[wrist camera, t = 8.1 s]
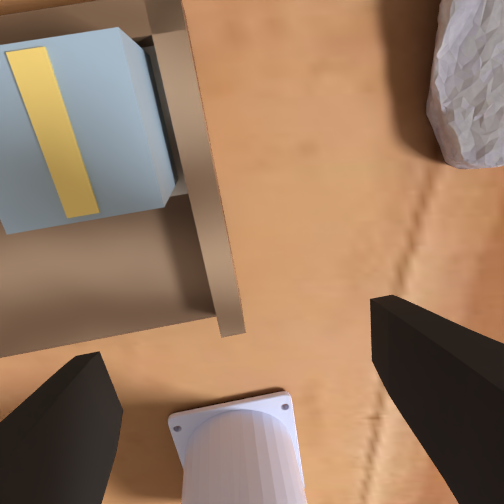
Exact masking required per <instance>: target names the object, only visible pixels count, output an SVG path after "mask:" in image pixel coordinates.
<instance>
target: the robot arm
mask: <svg viewBox="0 0 504 504" xmlns="http://www.w3.org/2000/svg"><path fill="white" fill-rule="evenodd" d="M370 311H371V344H372V362H373V364H374V366H375V368H376V370H377V372H378V374H379V376H380V378H381V380H382V382H383V384H384V386H385V388H386V390H387V392H388V394H389V396H390V397H391V399H392V400H393V402H394V404H395V405H396V407H397V408H398V410H399V411H400V413H401V414H402V416H403V417H404V419H405V420H406V422H407V424H408V425H409V427H410V428H411V430H412V431H413V433H414V434H415V436H416V437H417V439H418V440H419V442H420V443H421V445H422V446H423V448H424V449H425V451H426V452H427V454H428V455H429V457H430V458H431V460H432V461H433V463H434V464H435V466H436V467H437V469H438V471H439V472H440V474H441V475H442V477H443V478H444V480H445V481H446V483H447V485H448V486H449V488H450V490H451V491H452V493H453V495H454V496H455V498H456V500H457V501H458V503H459V504H504V344H503V343H501V342H498V341H496V340H493V339H491V338H488V337H486V336H484V335H481V334H479V333H477V332H474V331H472V330H470V329H468V328H465V327H463V326H461V325H459V324H456V323H454V322H452V321H450V320H448V319H445V318H443V317H441V316H439V315H437V314H435V313H433V312H430V311H428V310H426V309H424V308H422V307H420V306H418V305H415V304H413V303H411V302H409V301H407V300H404V299H402V298H400V297H397V296H394V295H389V296H383V297H378V298H373V299H370ZM283 404H286V405H283ZM122 414H123V409H122V407H121V404H120V402H119V399H118V397H117V394H116V392H115V389H114V386H113V384H112V381H111V379H110V376H109V374H108V371H107V369H106V366H105V364H104V361H103V359H102V356H101V354H100V351H99V352H94V353H89V354H84V355H79V356H75V357H74V358H73V359H71V360H70V361H69V362H68V363H66V364H65V365H64V366H63V367H62V368H61V369H59V370H58V371H57V372H56V373H55V374H54V375H53V376H51V377H50V378H49V379H48V380H47V381H46V382H45V383H44V384H43V385H41V386H40V387H39V388H38V389H37V390H36V391H35V392H34V393H33V394H31V395H30V396H29V397H28V398H27V399H26V400H25V401H24V402H23V403H21V404H20V405H19V406H18V407H17V408H16V409H15V410H14V411H13V412H11V413H10V414H9V415H8V416H7V417H6V418H5V419H4V420H3V421H1V422H0V504H101V503H102V500H103V496H104V493H105V490H106V486H107V483H108V479H109V476H110V472H111V469H112V465H113V462H114V458H115V455H116V451H117V446H118V440H119V434H120V428H121V421H122ZM168 426H169V429H170V432H171V435H172V438H173V441H174V444H175V447H176V450H177V452H178V455H179V458H180V461H181V464H182V467H183V470H184V475H183V487H182V500H181V504H307V500H306V496H305V492H304V487H305V486H304V479H303V472H302V465H301V459H300V452H299V445H298V438H297V432H296V425H295V418H294V412H293V405H292V399H291V395H290V393H289V392H286V391H281V392H276V393H271V394H266V395H261V396H256V397H252V398H247V399H242V400H237V401H232V402H227V403H222V404H217V405H212V406H207V407H202V408H197V409H192V410H187V411H182V412H177V413H173V414H171V415H170V416H169V418H168ZM176 426H180V427H176Z"/></svg>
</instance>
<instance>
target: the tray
mask: <svg viewBox="0 0 504 504" xmlns="http://www.w3.org/2000/svg"><path fill="white" fill-rule="evenodd" d="M115 27H119V28H120V29H121V30H122V31H123V32H124V33H125V34H127V35H128V36H129V37H130V38H131V39H132V40H133V41H134V42H135V43H136V44H138V45H139V46H140V47H141V48H142V49H143V50H144V51H145V52H146V53H147V54H149V55H150V59H151V64H152V68H153V72H154V77H155V81H156V85H157V90H158V94H159V98H160V103H161V107H162V111H163V115H164V120H165V124H166V128H167V133H168V137H169V141H170V146H171V150H172V154H173V159H174V163H175V167H176V172H177V176H178V181H177V183H176V185H175V187H174V189H173V191H172V193H171V195H170V197H169V199H168V201H167V203H166V205H165V207H163V208H157V209H151V210H145V211H140V212H134V213H128V214H123V215H117V216H111V217H105V218H100V219H94V220H88V221H82V222H77V223H71V224H65V225H59V226H54V227H48V228H42V229H36V230H31V231H25V232H19V233H13V234H8V235H7V234H6V231H5V229H4V227H3V225H2V222H1V220H0V358H2V357H7V356H12V355H18V354H23V353H28V352H33V351H38V350H44V349H49V348H54V347H59V346H64V345H70V344H75V343H80V342H85V341H91V340H96V339H101V338H106V337H111V336H117V335H122V334H127V333H132V332H137V331H143V330H148V329H153V328H158V327H163V326H169V325H174V324H179V323H184V322H189V321H195V320H200V319H205V318H210V317H215V316H217V321H218V325H219V329H220V334H221V338H222V337H227V336H232V335H237V334H242V333H246V331H245V325H244V318H243V312H242V305H241V299H240V294H239V288H238V283H237V278H236V273H235V268H234V263H233V258H232V252H231V247H230V242H229V237H228V232H227V227H226V222H225V216H224V211H223V206H222V201H221V196H220V191H219V185H218V180H217V175H216V170H215V165H214V160H213V155H212V149H211V144H210V139H209V134H208V129H207V124H206V119H205V113H204V108H203V103H202V98H201V93H200V88H199V83H198V77H197V72H196V67H195V62H194V57H193V52H192V47H191V41H190V36H189V31H188V26H187V21H186V16H185V11H184V8H183V4H182V0H97V1H91V2H84V3H78V4H71V5H65V6H58V7H52V8H45V9H39V10H33V11H26V12H20V13H13V14H7V15H0V45H4V44H10V43H17V42H24V41H30V40H37V39H43V38H50V37H56V36H63V35H69V34H76V33H83V32H89V31H96V30H102V29H109V28H115Z"/></svg>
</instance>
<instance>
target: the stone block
mask: <svg viewBox="0 0 504 504" xmlns="http://www.w3.org/2000/svg"><path fill="white" fill-rule="evenodd" d="M437 20H438V30H437V32H436V39H435V51H434V59H433V63H432V68H431V78H430V81H431V82H430V90H429V95H428V99H427V103H426V115H427V117H428V119H429V121H430V123H431V126H432V128H433V131H434V134H435V137H436V139H437V141H438V143H439V145H440V148H441V152H442V154H443V157H444V161H445V162H446V163H447V164H449V165H451V166H453V167H455V168H458V169H479V168H491V167H500V166H504V0H441V3H440V5H439V15H438V19H437Z"/></svg>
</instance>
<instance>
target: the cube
mask: <svg viewBox="0 0 504 504" xmlns="http://www.w3.org/2000/svg"><path fill="white" fill-rule="evenodd" d="M177 181H178V176H177V172H176V167H175V163H174V159H173V154H172V150H171V146H170V141H169V137H168V133H167V128H166V124H165V120H164V115H163V111H162V107H161V103H160V98H159V94H158V90H157V85H156V81H155V77H154V72H153V68H152V64H151V59H150V55H149V54H147V53H146V52H145V51H144V50H143V49H142V48H141V47H140V46H139V45H138V44H136V43H135V42H134V41H133V40H132V39H131V38H130V37H129V36H128V35H127V34H125V33H124V32H123V31H122V30H121V29H120V28H119V27H115V28H109V29H102V30H96V31H89V32H83V33H76V34H69V35H63V36H56V37H50V38H43V39H37V40H30V41H24V42H17V43H10V44H4V45H0V220H1V222H2V225H3V227H4V229H5V231H6V234H7V235H8V234H13V233H19V232H25V231H31V230H36V229H42V228H48V227H54V226H59V225H65V224H71V223H77V222H82V221H88V220H94V219H100V218H105V217H111V216H117V215H123V214H128V213H134V212H140V211H145V210H151V209H157V208H163V207H165V205H166V203H167V201H168V199H169V197H170V195H171V193H172V191H173V189H174V187H175V185H176V183H177Z"/></svg>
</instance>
